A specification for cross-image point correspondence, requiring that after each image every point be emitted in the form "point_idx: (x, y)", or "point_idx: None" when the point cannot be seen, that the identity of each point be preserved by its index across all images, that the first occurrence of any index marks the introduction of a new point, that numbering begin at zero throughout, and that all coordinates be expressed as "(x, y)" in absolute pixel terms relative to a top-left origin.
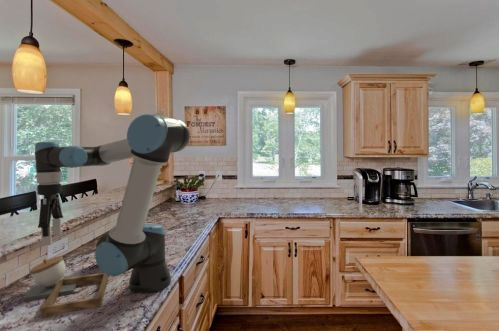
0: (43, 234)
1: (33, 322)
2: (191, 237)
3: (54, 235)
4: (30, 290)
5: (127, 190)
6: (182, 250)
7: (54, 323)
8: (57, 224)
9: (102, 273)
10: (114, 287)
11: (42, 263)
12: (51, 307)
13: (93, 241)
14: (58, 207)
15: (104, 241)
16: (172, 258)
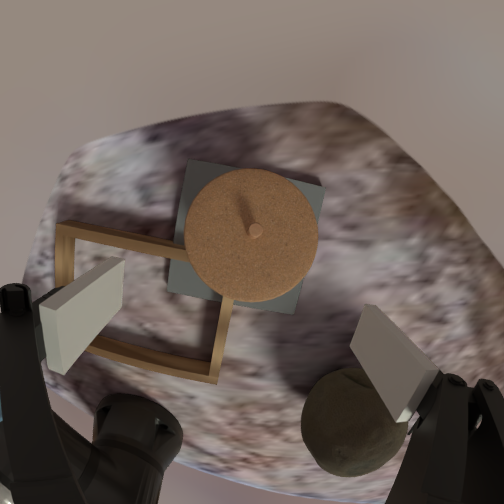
0: (50, 296)
1: (58, 205)
2: (373, 495)
3: (363, 311)
4: None
5: None
6: (307, 490)
7: (40, 247)
8: (386, 374)
9: (214, 373)
10: (155, 374)
11: (280, 216)
12: (56, 245)
13: None
14: (466, 484)
15: (337, 432)
16: (271, 477)
